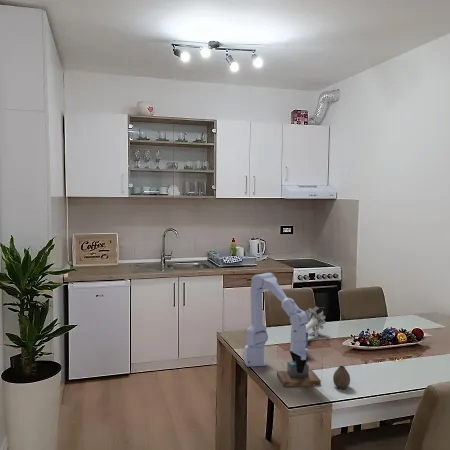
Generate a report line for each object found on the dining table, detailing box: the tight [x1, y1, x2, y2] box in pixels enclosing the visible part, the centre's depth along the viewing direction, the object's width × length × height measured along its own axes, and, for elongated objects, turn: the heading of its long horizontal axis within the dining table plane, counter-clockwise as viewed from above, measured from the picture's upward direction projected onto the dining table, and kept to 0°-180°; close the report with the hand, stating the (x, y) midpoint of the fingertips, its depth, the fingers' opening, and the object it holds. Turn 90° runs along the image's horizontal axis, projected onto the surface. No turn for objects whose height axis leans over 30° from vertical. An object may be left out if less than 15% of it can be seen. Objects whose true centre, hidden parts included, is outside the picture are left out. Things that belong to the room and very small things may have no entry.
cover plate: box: [288, 360, 306, 366], centre depth 193 cm, size 4×7×2 cm, turn 97°
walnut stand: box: [276, 368, 322, 388], centre depth 193 cm, size 16×12×2 cm
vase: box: [332, 365, 351, 390], centre depth 187 cm, size 7×7×9 cm
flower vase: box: [305, 305, 327, 338], centre depth 250 cm, size 13×18×25 cm
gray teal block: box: [286, 361, 310, 378], centre depth 193 cm, size 5×8×5 cm, turn 98°
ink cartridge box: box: [289, 327, 309, 358], centre depth 225 cm, size 10×6×14 cm, turn 16°
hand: (298, 370), depth 193 cm, fingers closed on gray teal block, 5 cm apart
